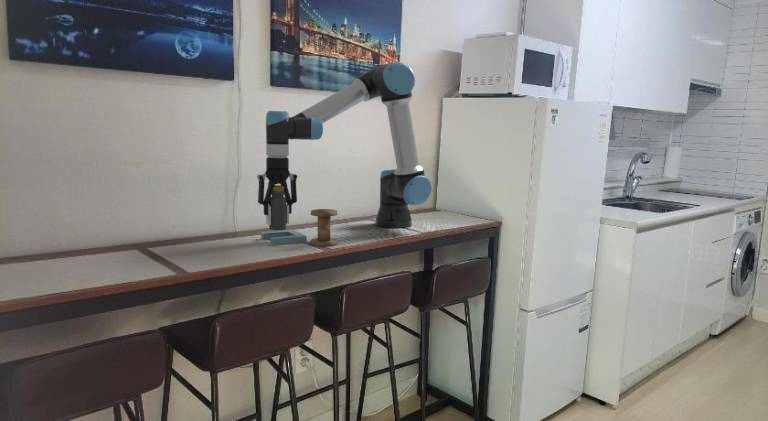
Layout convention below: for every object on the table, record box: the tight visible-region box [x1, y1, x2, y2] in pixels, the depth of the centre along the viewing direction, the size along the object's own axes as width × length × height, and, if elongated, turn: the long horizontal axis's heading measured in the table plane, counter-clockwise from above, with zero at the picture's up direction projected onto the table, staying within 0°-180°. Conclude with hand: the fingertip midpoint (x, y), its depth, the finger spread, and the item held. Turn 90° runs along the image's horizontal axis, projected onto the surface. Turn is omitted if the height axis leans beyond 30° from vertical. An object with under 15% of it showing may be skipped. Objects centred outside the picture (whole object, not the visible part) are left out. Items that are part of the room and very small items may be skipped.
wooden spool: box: [310, 208, 338, 247], centre depth 187 cm, size 9×9×11 cm
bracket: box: [260, 229, 308, 247], centre depth 191 cm, size 12×13×2 cm
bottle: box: [268, 184, 287, 231], centre depth 188 cm, size 6×6×15 cm
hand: (277, 223), depth 189 cm, fingers closed on bottle, 6 cm apart
